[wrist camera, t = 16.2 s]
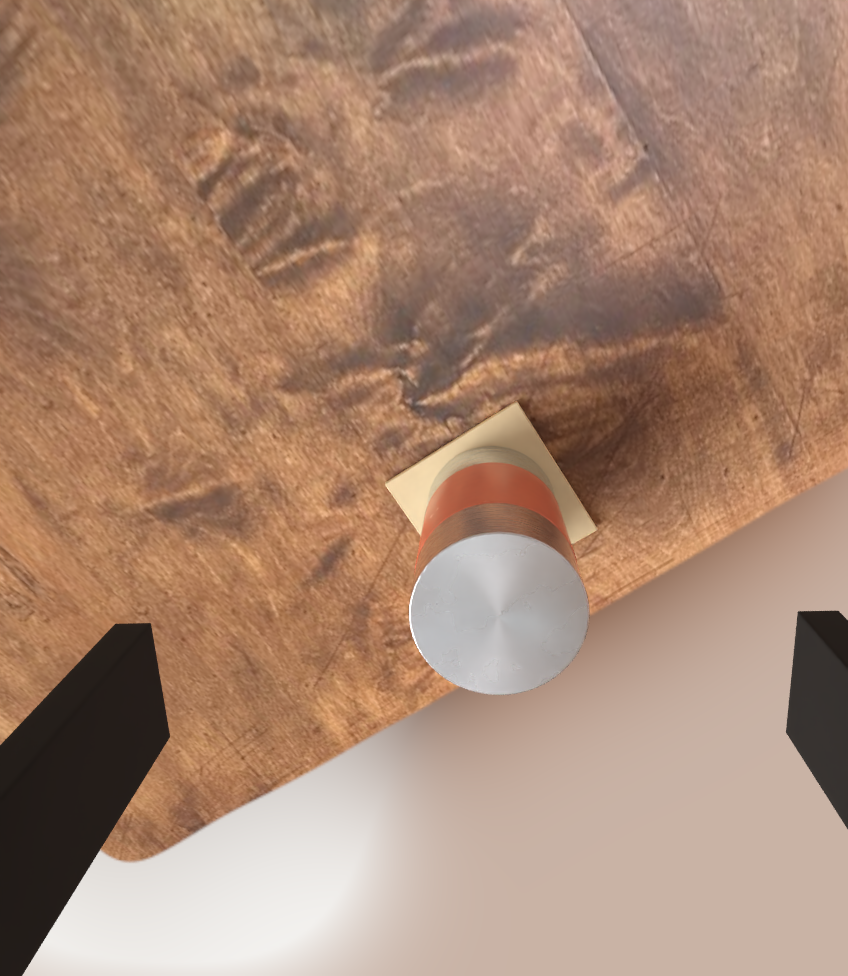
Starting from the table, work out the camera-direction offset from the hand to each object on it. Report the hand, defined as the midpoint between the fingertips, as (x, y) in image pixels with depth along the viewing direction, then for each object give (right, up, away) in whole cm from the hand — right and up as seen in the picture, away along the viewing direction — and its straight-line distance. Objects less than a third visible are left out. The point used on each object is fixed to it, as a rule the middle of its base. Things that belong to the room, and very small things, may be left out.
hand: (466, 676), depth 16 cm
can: (+3, +3, +25) cm, 25 cm away
